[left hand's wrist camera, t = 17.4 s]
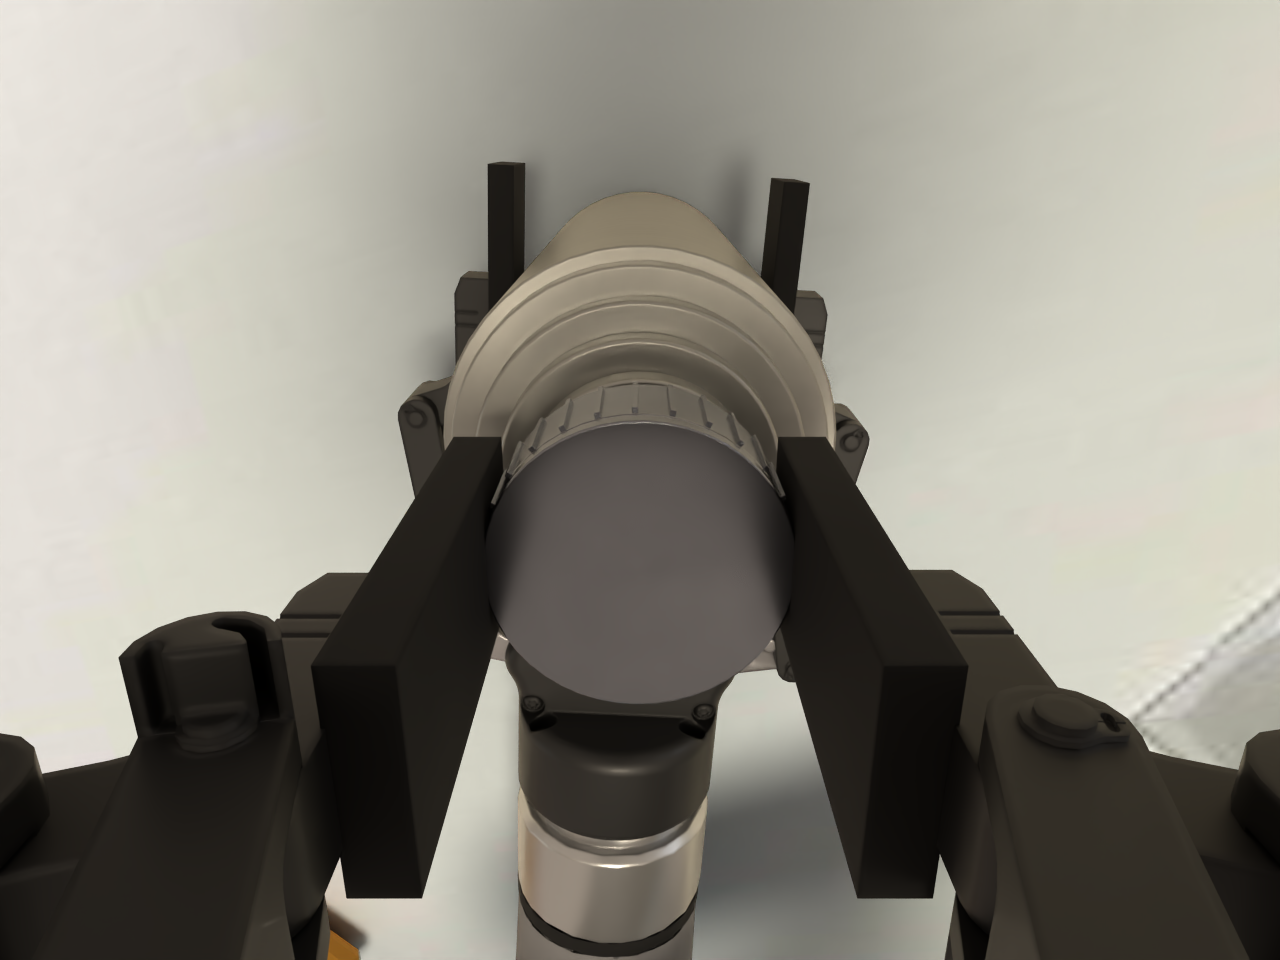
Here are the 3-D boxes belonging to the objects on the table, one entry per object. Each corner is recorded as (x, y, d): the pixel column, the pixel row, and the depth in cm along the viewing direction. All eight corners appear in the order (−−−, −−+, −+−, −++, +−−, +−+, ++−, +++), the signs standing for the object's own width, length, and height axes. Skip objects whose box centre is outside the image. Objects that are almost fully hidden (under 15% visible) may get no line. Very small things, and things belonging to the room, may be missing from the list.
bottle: (737, 183, 33) (916, 264, 12) (744, 388, 36) (899, 757, 14) (526, 200, 33) (322, 309, 12) (550, 402, 36) (420, 787, 15)
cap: (442, 463, 14) (413, 511, 12) (702, 326, 13) (711, 355, 11) (586, 681, 16) (579, 752, 14) (827, 569, 15) (853, 629, 13)
